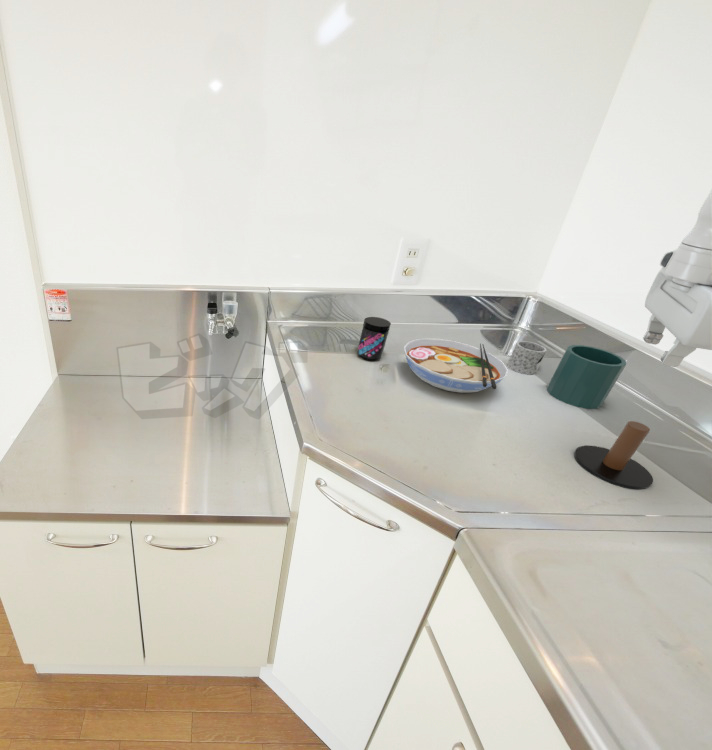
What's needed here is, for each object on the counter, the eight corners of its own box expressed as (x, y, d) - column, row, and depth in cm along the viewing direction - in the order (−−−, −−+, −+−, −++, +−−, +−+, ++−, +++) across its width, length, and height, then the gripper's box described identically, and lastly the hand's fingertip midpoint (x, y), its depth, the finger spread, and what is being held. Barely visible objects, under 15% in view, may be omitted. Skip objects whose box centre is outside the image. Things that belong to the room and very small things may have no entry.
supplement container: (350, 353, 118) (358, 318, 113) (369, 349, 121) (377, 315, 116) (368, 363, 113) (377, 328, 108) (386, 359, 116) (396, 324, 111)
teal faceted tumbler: (585, 394, 104) (611, 349, 97) (606, 418, 95) (636, 369, 89) (537, 387, 106) (560, 342, 100) (553, 408, 97) (579, 361, 91)
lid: (629, 457, 83) (658, 415, 78) (664, 498, 73) (700, 453, 68) (562, 444, 86) (586, 403, 80) (587, 483, 76) (617, 438, 71)
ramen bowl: (401, 353, 120) (409, 327, 115) (493, 374, 111) (505, 346, 107) (389, 394, 100) (398, 363, 96) (500, 423, 91) (515, 391, 87)
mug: (539, 376, 111) (550, 353, 108) (511, 371, 113) (521, 349, 109) (527, 359, 119) (537, 338, 116) (501, 355, 121) (510, 334, 118)
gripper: (780, 290, 52) (711, 386, 59) (712, 257, 68) (663, 335, 75) (711, 281, 55) (652, 374, 62) (660, 251, 71) (618, 327, 77)
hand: (658, 352), depth 68 cm, fingers open, 8 cm apart
